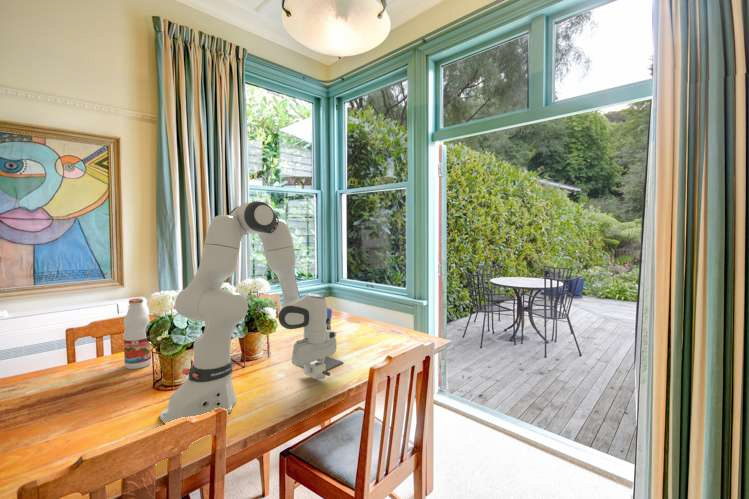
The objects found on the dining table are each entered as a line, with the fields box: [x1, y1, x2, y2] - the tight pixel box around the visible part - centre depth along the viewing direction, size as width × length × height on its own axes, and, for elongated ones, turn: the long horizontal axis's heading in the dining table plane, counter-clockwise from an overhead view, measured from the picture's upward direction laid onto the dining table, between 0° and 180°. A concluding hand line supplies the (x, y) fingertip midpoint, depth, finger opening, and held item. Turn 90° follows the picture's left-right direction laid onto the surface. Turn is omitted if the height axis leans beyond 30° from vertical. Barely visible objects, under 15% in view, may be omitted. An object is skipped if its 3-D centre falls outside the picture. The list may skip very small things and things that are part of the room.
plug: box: [300, 360, 331, 380], centre depth 140 cm, size 15×4×5 cm, turn 52°
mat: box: [299, 356, 344, 372], centre depth 155 cm, size 14×14×1 cm
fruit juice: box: [123, 297, 152, 370], centre depth 150 cm, size 9×9×28 cm
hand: (314, 370), depth 140 cm, fingers closed on plug, 4 cm apart
